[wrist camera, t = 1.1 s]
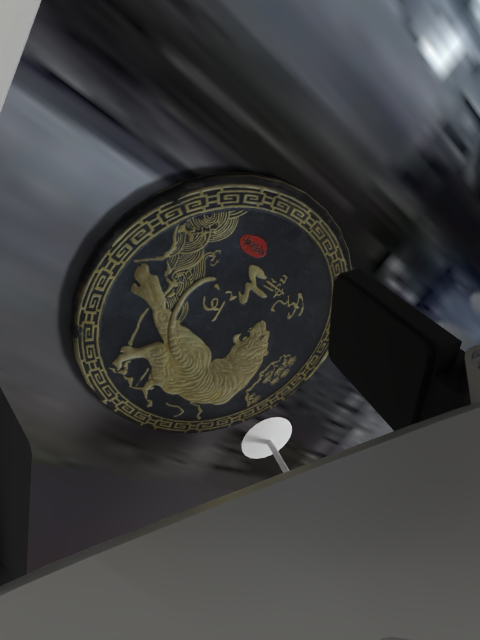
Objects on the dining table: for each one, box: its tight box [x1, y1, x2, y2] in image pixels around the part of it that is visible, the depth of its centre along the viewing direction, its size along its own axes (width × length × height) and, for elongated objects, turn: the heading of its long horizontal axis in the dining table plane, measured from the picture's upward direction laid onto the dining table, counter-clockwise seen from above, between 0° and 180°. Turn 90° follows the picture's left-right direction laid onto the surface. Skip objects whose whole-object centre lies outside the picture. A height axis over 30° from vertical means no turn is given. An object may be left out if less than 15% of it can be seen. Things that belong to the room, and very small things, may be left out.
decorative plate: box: [70, 172, 352, 433], centre depth 43 cm, size 30×2×30 cm
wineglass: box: [242, 417, 292, 473], centre depth 49 cm, size 8×9×20 cm
